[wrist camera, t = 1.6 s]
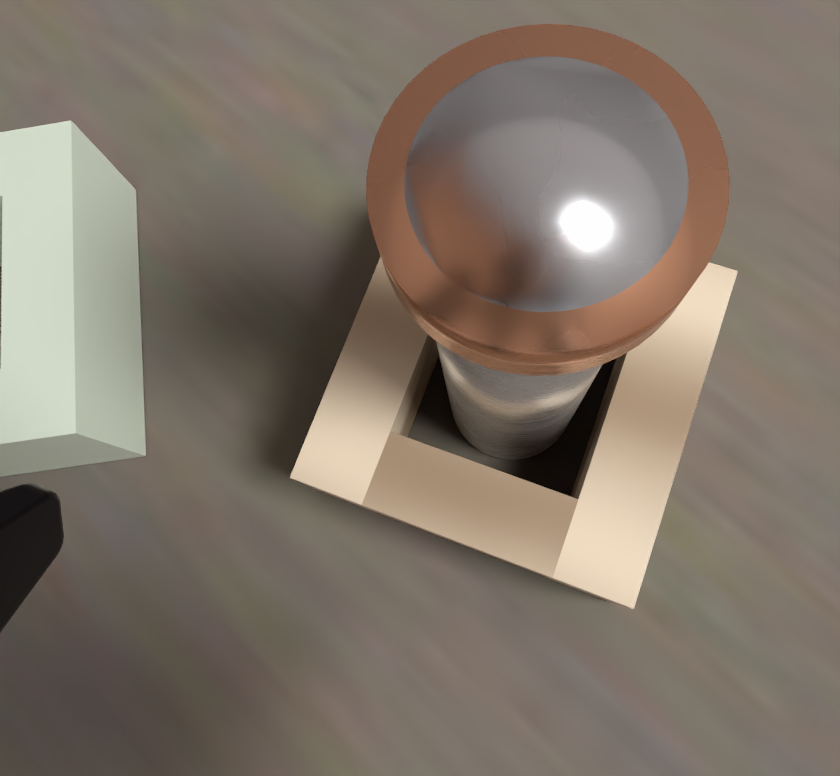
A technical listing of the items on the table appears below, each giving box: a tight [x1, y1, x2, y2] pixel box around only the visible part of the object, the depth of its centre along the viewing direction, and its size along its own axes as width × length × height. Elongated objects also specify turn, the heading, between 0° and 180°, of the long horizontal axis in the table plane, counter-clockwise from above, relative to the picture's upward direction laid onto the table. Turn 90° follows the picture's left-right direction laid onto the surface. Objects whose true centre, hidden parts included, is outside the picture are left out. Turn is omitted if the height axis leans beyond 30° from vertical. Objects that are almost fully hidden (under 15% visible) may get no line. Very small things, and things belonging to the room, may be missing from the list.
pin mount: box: [290, 257, 738, 609], centre depth 21 cm, size 9×9×3 cm
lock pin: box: [366, 24, 730, 460], centre depth 16 cm, size 5×5×13 cm
